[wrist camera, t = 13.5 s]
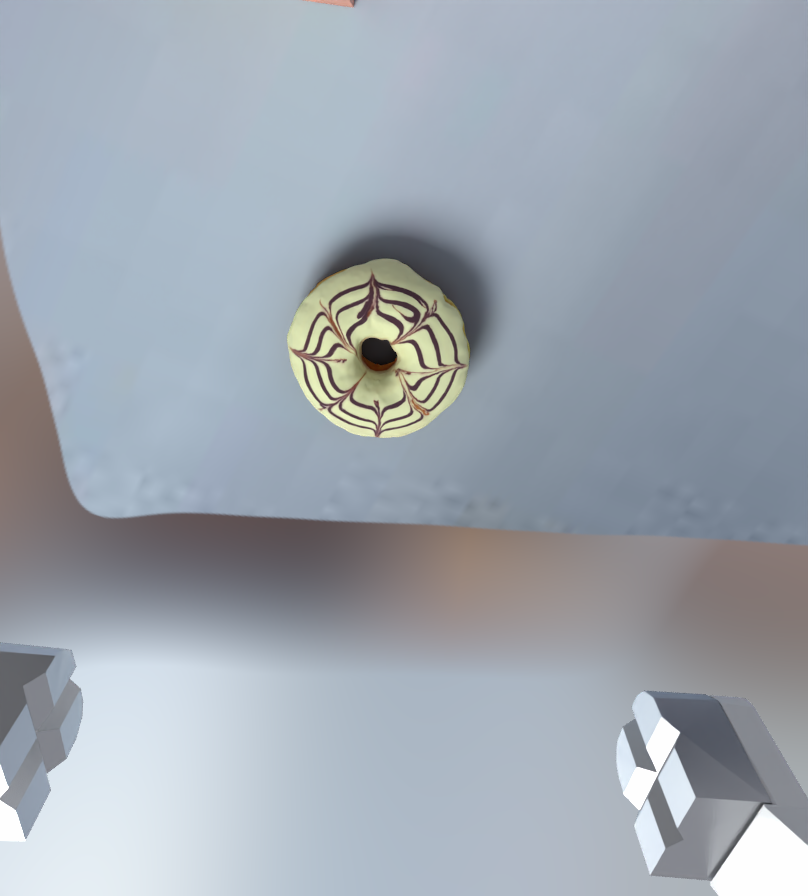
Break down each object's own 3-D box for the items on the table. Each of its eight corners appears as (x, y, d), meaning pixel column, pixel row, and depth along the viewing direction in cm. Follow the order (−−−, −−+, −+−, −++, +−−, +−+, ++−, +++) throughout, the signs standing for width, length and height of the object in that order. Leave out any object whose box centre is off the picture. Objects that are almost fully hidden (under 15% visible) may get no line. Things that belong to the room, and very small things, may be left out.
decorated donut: (382, 216, 36) (380, 228, 32) (498, 347, 40) (507, 369, 36) (261, 335, 39) (248, 357, 36) (379, 444, 43) (378, 473, 40)
